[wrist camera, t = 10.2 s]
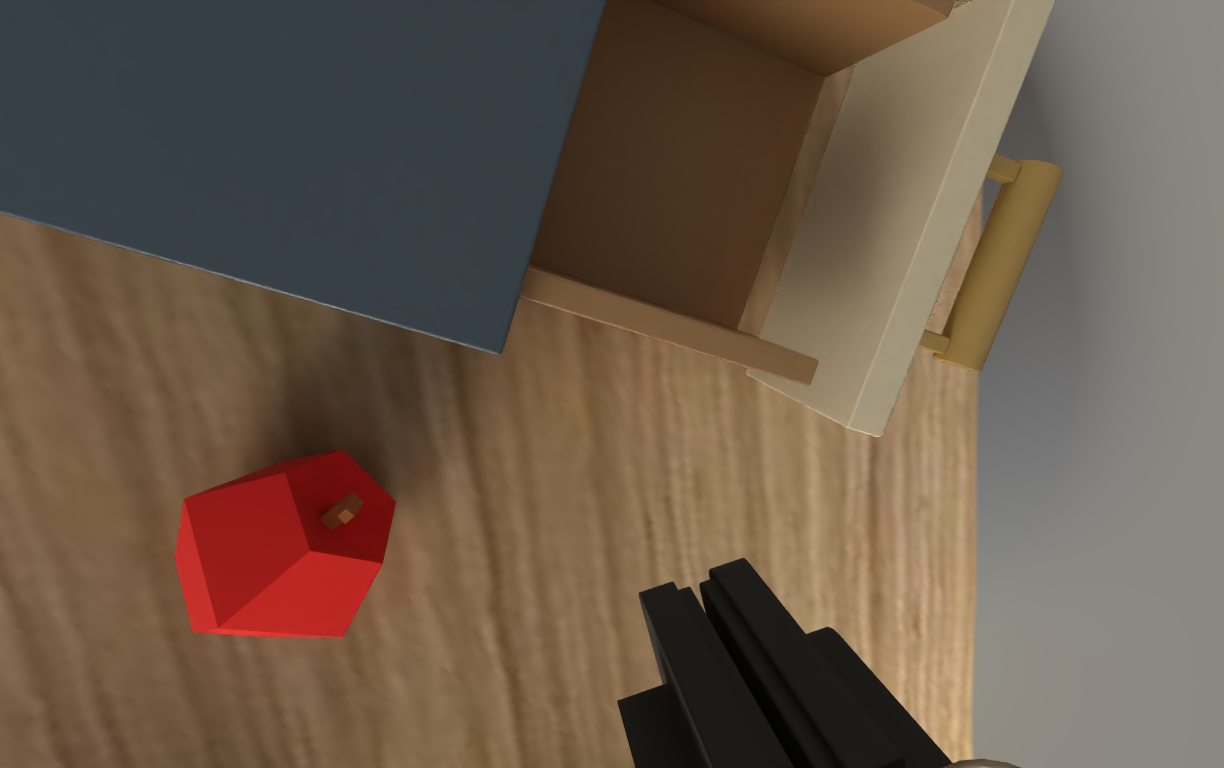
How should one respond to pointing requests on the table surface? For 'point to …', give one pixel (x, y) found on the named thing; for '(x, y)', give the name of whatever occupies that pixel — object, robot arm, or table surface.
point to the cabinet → (302, 142)
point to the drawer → (759, 174)
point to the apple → (283, 548)
